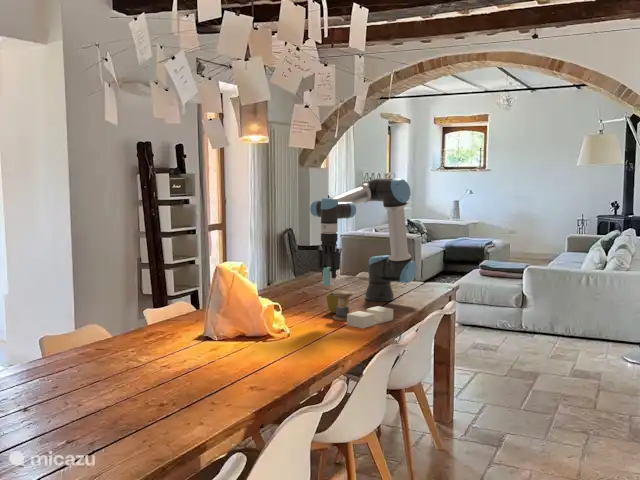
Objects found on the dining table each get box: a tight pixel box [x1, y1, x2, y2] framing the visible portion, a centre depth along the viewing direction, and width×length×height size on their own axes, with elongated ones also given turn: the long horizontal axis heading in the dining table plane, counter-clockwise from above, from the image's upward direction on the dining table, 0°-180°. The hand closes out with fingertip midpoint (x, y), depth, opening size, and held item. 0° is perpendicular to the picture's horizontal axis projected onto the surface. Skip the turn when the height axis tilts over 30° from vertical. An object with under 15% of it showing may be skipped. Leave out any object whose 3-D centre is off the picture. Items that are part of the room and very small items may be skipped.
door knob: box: [332, 290, 353, 322], centre depth 288 cm, size 9×9×12 cm
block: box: [322, 266, 334, 287], centre depth 281 cm, size 4×4×8 cm
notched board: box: [346, 305, 394, 329], centre depth 281 cm, size 22×9×5 cm, turn 137°
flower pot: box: [326, 292, 350, 314], centre depth 301 cm, size 9×9×9 cm
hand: (328, 284), depth 281 cm, fingers closed on block, 3 cm apart
